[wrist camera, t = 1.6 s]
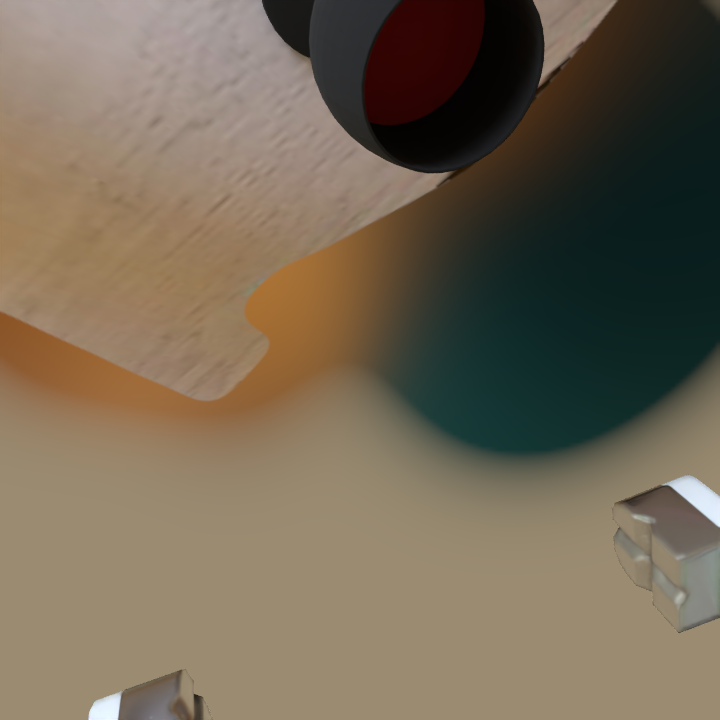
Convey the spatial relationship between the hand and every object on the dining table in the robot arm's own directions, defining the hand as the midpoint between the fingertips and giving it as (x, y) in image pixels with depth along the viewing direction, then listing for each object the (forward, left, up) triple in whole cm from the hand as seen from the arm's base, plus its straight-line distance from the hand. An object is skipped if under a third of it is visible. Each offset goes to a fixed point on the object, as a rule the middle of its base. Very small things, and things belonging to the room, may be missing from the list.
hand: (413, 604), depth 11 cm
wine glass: (-2, +10, -41) cm, 42 cm away
